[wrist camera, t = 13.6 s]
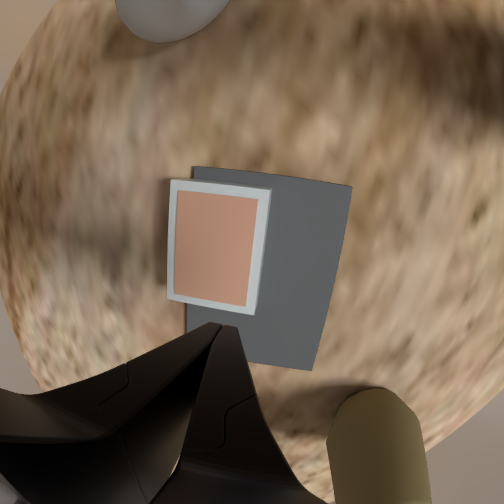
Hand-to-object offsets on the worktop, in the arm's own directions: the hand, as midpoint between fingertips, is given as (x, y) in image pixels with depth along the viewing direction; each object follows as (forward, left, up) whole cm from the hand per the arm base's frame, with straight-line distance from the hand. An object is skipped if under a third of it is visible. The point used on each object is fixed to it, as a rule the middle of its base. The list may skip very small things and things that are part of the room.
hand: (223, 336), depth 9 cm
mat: (0, +3, -12) cm, 12 cm away
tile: (0, +1, -11) cm, 11 cm away
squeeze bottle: (-11, +14, -12) cm, 22 cm away
